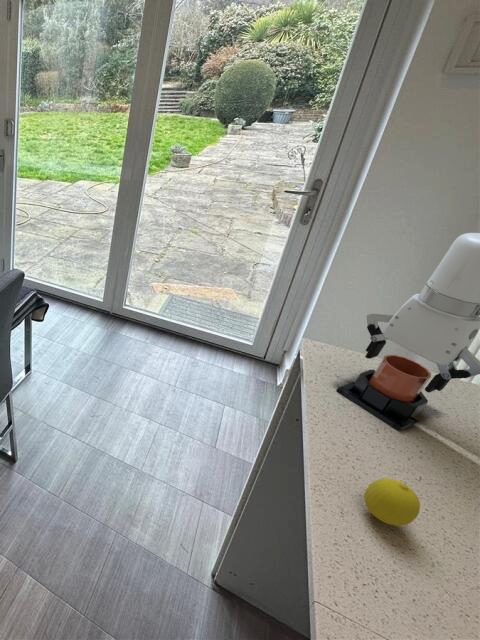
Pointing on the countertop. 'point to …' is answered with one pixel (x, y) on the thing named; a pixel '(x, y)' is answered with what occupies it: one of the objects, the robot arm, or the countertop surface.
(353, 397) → the cup holder
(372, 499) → the lemon
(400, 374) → the cup
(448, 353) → the robot arm
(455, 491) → the countertop surface
